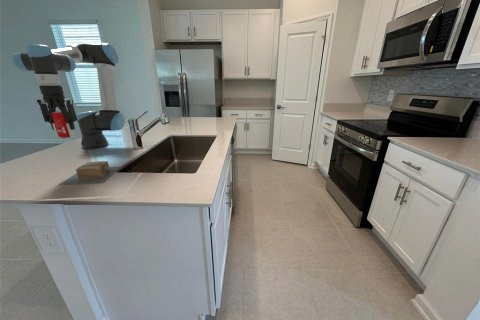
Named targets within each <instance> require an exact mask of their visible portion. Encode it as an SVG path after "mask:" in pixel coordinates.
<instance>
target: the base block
mask: <svg viewBox="0 0 480 320" xmlns="http://www.w3.org/2000/svg"><path fill="white" fill-rule="evenodd" d="M109 167H110V165H109V161H108V160H107V161H104V160H103V161H99V160H98V161H87V162H85V163H84V164H82V165H81V166H79V167H77V168H76V169H75V171H76V173H77V175H78V178H79V180H82V179H101V178H102V177H103V176H104V175H106V174H107V173H108V172H109V171H110V168H109Z"/></svg>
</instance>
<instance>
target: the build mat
mask: <svg viewBox="0 0 480 320" xmlns="http://www.w3.org/2000/svg"><path fill="white" fill-rule="evenodd" d="M109 168H110V171H109V172H108V173H107V174H106V175H104V176H103V177H102V178H101V179H82V180H79V178H78V175H77V172H76V173H74V174H72V175H71V176H70V177H68V178H66V179H65V180H63V181H62V182H60V183H59V184H58V186H69V185H70V186H71V185H90V184H92V185H93V184H94V185H95V184H105V182H107V181H108V180H109V179H111V177H112V176H113V175H114V174H116V173H117V172H118V171H119V170H120V169H121V168H122V166H109Z"/></svg>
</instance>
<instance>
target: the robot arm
mask: <svg viewBox="0 0 480 320" xmlns="http://www.w3.org/2000/svg"><path fill="white" fill-rule="evenodd" d="M25 47H26V51H27V52H15V53H13V54H12V56H11V60H12V62H13V64H14V66H15V67H16V68H17V69H19V70H21V71H23V72H24V71H25V72H33V73H34V75H35V78H36V82H37V84H39V85H38V88H39V90H40V93H41V94H42V98H41V99H37V100H36V102H37V104H38V105H39V107H40V111H41V114H42V117H43V120H44V121H43V122H44V123H45V122H46V123H49V124H50V125H51V126H50V127H51V129H52V130H53V131H54V134H55V136H56V138H60V136H59V135H58V132H57V129H56V126H55V123H54V120H53V117H52V112H55V111H57V110H56V109H58V110H59V111H61V112H62V114H63V115H64V117H65V119H66V120H67V123H66V125H67V128H68V131H69V135H70V137H69V138H73V137H76V132H75V129H76V127H75V124H74V123H75V122H77V123H78V124H77V125H78V127H79V130H80V134H81V142H80V145H81V146H80V147H81V149H84V150H85V149H88V150H91V149H97V148H100V149H101V148H103V147H106V146H108V145H109V142H108V140H107V137H106V136H105V134H103V133H104V132H105V131H107V132H109V131H110V132H111V131H112V132H114V131H121V130H123V128H124V126H125V122H126V121H125V117H124V114H123V113H122V112H121V110H120V109H118V106H117V105H118V104H117V97H116V96H117V94H116V89H115V87H116V86H115V85H116V84H115V78H114V77H115V76H114V70H115V69H116V65H117V64H119V55H118V53H117V51H116V49H115V47H114V46H113V45H112V44H110V43H107V42H80V43H74V44H73V43H72V44H70V45H66V46H65V47H61V48H56V49H51V47H50V46H48V45H45V44H37V43H36V44H35V43H29V44H26V46H25ZM81 63H82V64H93V66H94V67H95V68H96V71H97V81H98V89H99V96H100V97H99V98H100V106H101V107H100V108H99V109H98V110H89V111H84V112H83V111H81V112H79V113H77V114H76V111H75V107H74V100H73V99H71V98H70V99H69V98H66V97H65V95H64V93H65V91H64V90H63V86H62V85H61V84H62V83H61V79H60V76H59V73H58V72H65V73H71V72H73V71H75V70H76V68H77V67H76V66H77V65H76V64H81Z"/></svg>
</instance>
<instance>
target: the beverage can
mask: <svg viewBox="0 0 480 320" xmlns="http://www.w3.org/2000/svg"><path fill="white" fill-rule="evenodd" d="M52 117H53V120H54V123H55V126H56V129H57V132H58V135H59V136H60V137H59V138H60V139H67V138H71V137H70V135H69V131H68V128H67V125H66V123H67V120H66V119H65V117H64V115H63V114H62V112H61V110H56V111H55V112H52Z"/></svg>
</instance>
